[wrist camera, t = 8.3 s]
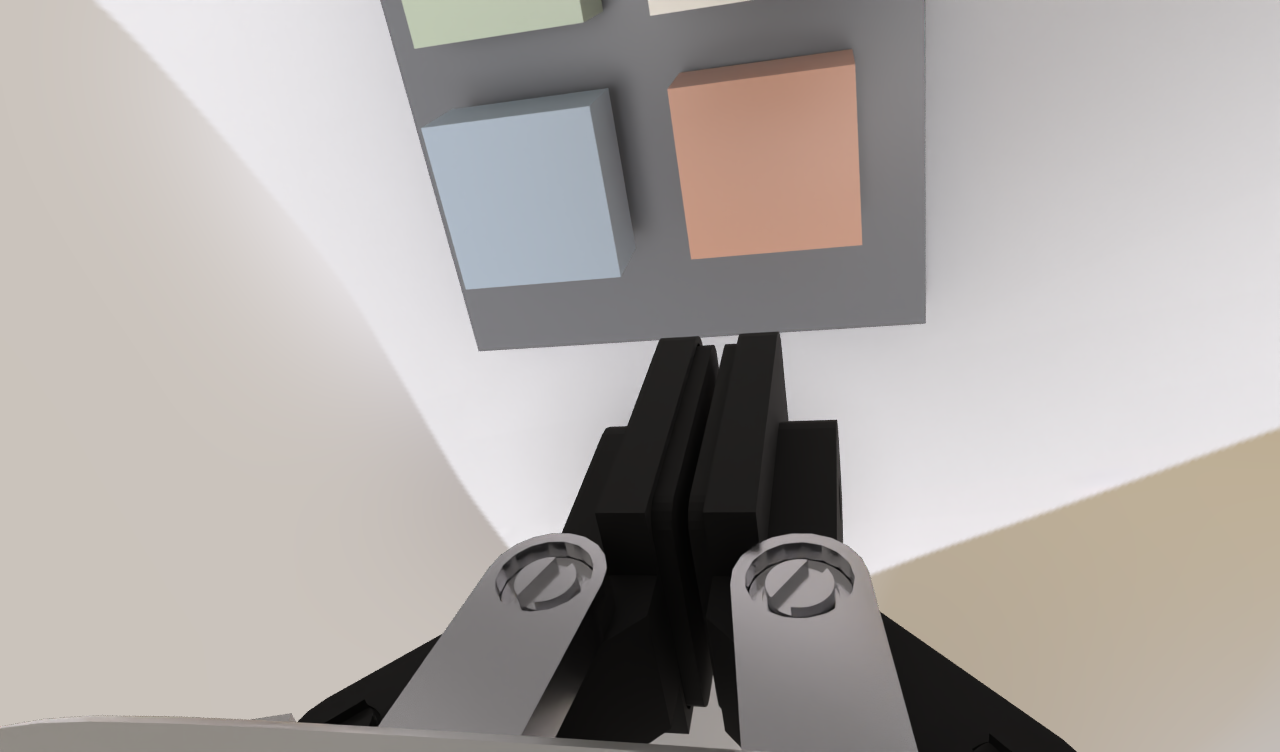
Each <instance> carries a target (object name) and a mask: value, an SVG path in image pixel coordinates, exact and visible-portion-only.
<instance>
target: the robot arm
mask: <svg viewBox="0 0 1280 752" xmlns="http://www.w3.org/2000/svg"><path fill="white" fill-rule="evenodd" d="M713 677H714V683H715V689H716V695H717V701H718V705H719V707H720V708H721V710H722V716H723V722H724V728H725V732H726V733H727V734H728V735H729V736H730V737H731V738H732V739H733V740H734V741H735V742H736V743H737V744H738V745H739V746H740V747H741V750H734V749H719V748H705V747H690V746H674V745H659V744H649V743H651V742H652V741H654V740H655V739H657V738H658V737H659V736H661V735H662V734H664V733H675V734H689V732H690V726H691V720H692V714H693V708H694V707H707V706H708V703H709V698H710V692H711V685H712V679H713ZM0 752H1076V751H1075V750H1074V749H1073V748H1072V747H1071V746H1070V745H1068V744H1067V743H1066V742H1065V741H1064V740H1063V739H1061V738H1060V737H1059V736H1057V735H1055V734H1054V733H1053V732H1051V731H1050V730H1049V729H1047V728H1046V727H1044V726H1043V725H1041V724H1040V723H1039V722H1037V721H1035V720H1034V719H1033V718H1031V717H1030V716H1029V715H1027V714H1026V713H1024V712H1023V711H1021V710H1020V709H1019V708H1017V707H1016V706H1014V705H1013V704H1011V703H1010V702H1008V701H1007V700H1006V699H1004V698H1003V697H1001V696H1000V695H998V694H997V693H996V692H994V691H993V690H991V689H990V688H988V687H987V686H986V685H984V684H983V683H981V682H980V681H978V680H977V679H976V678H974V677H973V676H971V675H970V674H968V673H967V672H966V671H964V670H963V669H961V668H960V667H958V666H957V665H955V664H954V663H953V662H951V661H950V660H948V659H947V658H945V657H944V656H943V655H941V654H940V653H938V652H937V651H935V650H934V649H933V648H931V647H930V646H928V645H927V644H925V643H924V642H923V641H921V640H920V639H918V638H917V637H916V636H914V635H913V634H911V633H910V632H908V631H907V630H905V629H904V628H903V627H901V626H900V625H898V624H897V623H895V622H894V621H893V620H891V619H890V618H888V617H887V616H885V615H884V614H883V613H881V612H880V610H879V607H878V603H877V599H876V596H875V592H874V589H873V585H872V581H871V577H870V574H869V571H868V569H867V567H866V565H865V563H864V561H863V559H862V558H861V557H860V556H859V555H858V554H857V553H856V552H855V551H853V550H852V549H851V548H850V547H849V546H847V545H845V544H843V519H842V491H841V471H840V454H839V438H838V424H837V420H817V421H788V412H787V401H786V391H785V380H784V369H783V358H782V347H781V339H780V334H779V331H778V332H760V333H743V334H739V337H738V342H737V344H725V346H724V350H723V354H722V359H721V363H720V367H719V366H718V359H717V353H716V348H715V346H714V345H706V346H703V345H702V341H701V338H700V337H699V336H690V337H672V338H661V339H660V340H659V342H658V345H657V348H656V350H655V353H654V356H653V358H652V361H651V364H650V367H649V369H648V372H647V375H646V377H645V380H644V383H643V385H642V388H641V391H640V393H639V396H638V399H637V401H636V404H635V407H634V409H633V412H632V415H631V418H630V420H629V423H628V426H623V427H608V428H606V429H605V431H604V433H603V434H602V437H601V439H600V441H599V444H598V446H597V449H596V451H595V454H594V456H593V458H592V461H591V463H590V466H589V468H588V471H587V473H586V475H585V478H584V480H583V483H582V485H581V488H580V490H579V492H578V495H577V497H576V500H575V502H574V505H573V507H572V509H571V512H570V514H569V517H568V519H567V522H566V524H565V526H564V529H563V531H562V533H551V534H547V535H542V536H537V537H533V538H531V539H528V540H526V541H523V542H521V543H519V544H516V545H515V546H513V547H512V548H510V549H509V550H507V551H506V552H504V553H503V554H501V555H500V556H499V557H498V558H497V559H496V560H495V562H494V563H493V564H492V565H491V566H490V567H489V568H488V570H487V571H486V573H485V574H484V575H483V577H482V578H481V580H480V581H479V583H478V584H477V586H476V587H475V588H474V590H473V591H472V593H471V594H470V595H469V597H468V598H467V600H466V601H465V603H464V604H463V606H462V607H461V608H460V610H459V611H458V613H457V614H456V616H455V617H454V618H453V620H452V621H451V623H450V624H449V626H448V627H447V628H446V630H445V631H444V633H443V634H441V635H439V636H438V637H436V638H434V639H432V640H431V641H429V642H427V643H425V644H423V645H422V646H420V647H418V648H416V649H415V650H413V651H411V652H409V653H407V654H405V655H404V656H402V657H400V658H398V659H397V660H395V661H393V662H391V663H389V664H388V665H386V666H384V667H382V668H380V669H379V670H377V671H375V672H373V673H371V674H370V675H368V676H366V677H364V678H362V679H361V680H359V681H357V682H355V683H354V684H352V685H350V686H348V687H347V688H345V689H343V690H341V691H339V692H337V693H336V694H334V695H332V696H330V697H329V698H327V699H325V700H324V701H323V702H321V703H320V704H318V705H317V706H315V707H314V708H312V709H311V710H309V711H308V712H307V713H306V714H305V715H304V716H303V717H302V718H301V719H300V720H299V721H298V722H296V721H295V719H294V718H293V716H292V714H285V715H278V716H271V717H265V718H258V719H252V720H243V719H220V718H200V717H169V716H168V717H167V716H99V715H98V716H79V717H63V718H49V719H41V720H35V721H30V722H24V723H17V724H11V725H5V726H0Z"/></svg>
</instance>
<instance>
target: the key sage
mask: <svg viewBox="0 0 1280 752" xmlns="http://www.w3.org/2000/svg"><path fill="white" fill-rule="evenodd" d="M402 4H403V8H404V12H405V15H406V19H407V23H408V26H409V30H410V34H411V38H412V41H413V45H414V49H417V48H423V47H429V46H436V45H442V44H449V43H455V42H462V41H468V40H474V39H481V38H487V37H494V36H500V35H506V34H513V33H519V32H526V31H532V30H539V29H545V28H551V27H558V26H564V25H571V24H577V23H584V22H585V21H587V20H589V19H590V18H592V17H594V16H596V15H597V14H599V13H601V12H603V7H602V2H601V0H402Z"/></svg>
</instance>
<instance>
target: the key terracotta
mask: <svg viewBox="0 0 1280 752" xmlns="http://www.w3.org/2000/svg"><path fill="white" fill-rule="evenodd" d="M667 91H668V98H669V105H670V112H671V119H672V127H673V134H674V141H675V148H676V155H677V162H678V169H679V176H680V184H681V191H682V198H683V205H684V212H685V219H686V226H687V233H688V241H689V248H690V255H691V259H703V258H715V257H727V256H738V255H750V254H762V253H774V252H786V251H798V250H810V249H821V248H833V247H845V246H857V245H862V225H861V200H860V174H859V149H858V123H857V98H856V72H855V61H854V55H853V50H852V49H849V50H841V51H834V52H827V53H820V54H812V55H805V56H798V57H790V58H783V59H776V60H769V61H761V62H754V63H747V64H739V65H732V66H725V67H718V68H710V69H703V70H696V71H688V72H681V73H679V74H678V76H677V77H676V78H675V80H674V81H673V82H672V84H671V85H670V86H669V88H668V89H667Z"/></svg>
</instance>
